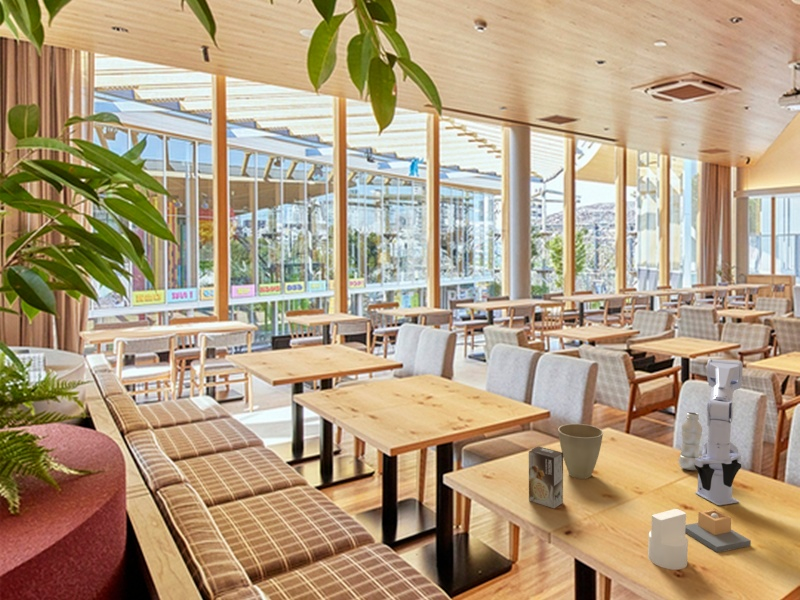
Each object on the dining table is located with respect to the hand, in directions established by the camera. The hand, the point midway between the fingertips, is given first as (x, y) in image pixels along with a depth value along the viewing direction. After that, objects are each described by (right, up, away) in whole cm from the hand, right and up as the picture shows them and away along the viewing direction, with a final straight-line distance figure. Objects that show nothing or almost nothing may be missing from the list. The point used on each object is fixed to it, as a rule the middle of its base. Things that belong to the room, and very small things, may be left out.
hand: (716, 487), depth 166 cm
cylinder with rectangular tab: (-24, -12, -20) cm, 34 cm away
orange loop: (-5, -9, -8) cm, 13 cm away
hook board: (-6, -10, -10) cm, 16 cm away
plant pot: (-29, -7, +34) cm, 45 cm away
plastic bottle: (+10, -6, +37) cm, 39 cm away
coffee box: (-46, -9, +14) cm, 49 cm away
